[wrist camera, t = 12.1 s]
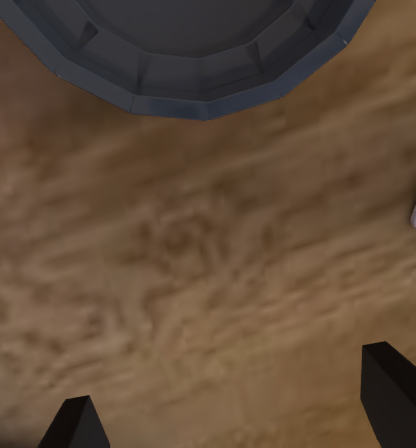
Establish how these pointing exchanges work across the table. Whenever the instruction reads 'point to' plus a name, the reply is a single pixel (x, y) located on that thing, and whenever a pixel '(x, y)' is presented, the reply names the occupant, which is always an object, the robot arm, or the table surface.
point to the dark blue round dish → (185, 48)
